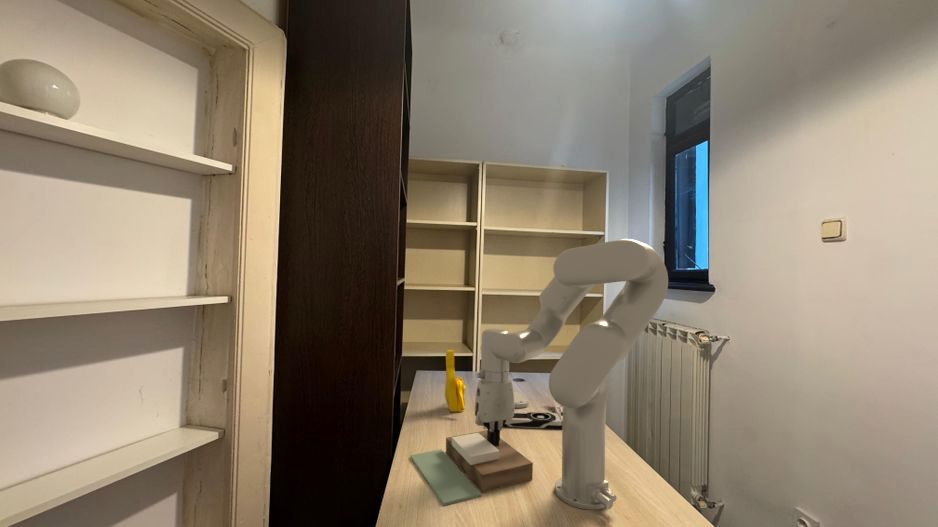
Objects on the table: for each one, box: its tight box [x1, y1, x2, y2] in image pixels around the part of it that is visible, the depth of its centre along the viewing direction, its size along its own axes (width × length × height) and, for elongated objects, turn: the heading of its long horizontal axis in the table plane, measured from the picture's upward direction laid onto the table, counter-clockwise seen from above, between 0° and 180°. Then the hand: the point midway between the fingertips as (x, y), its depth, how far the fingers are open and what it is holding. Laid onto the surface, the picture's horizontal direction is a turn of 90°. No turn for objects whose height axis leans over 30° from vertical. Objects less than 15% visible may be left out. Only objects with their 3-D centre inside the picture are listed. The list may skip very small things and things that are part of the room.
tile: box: [451, 432, 499, 465], centre depth 100 cm, size 12×8×2 cm, turn 25°
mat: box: [410, 448, 481, 507], centre depth 95 cm, size 24×9×1 cm, turn 26°
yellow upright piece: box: [444, 349, 467, 413], centre depth 142 cm, size 18×8×22 cm, turn 9°
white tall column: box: [552, 397, 563, 424], centre depth 137 cm, size 6×6×25 cm
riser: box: [445, 429, 534, 493], centre depth 101 cm, size 22×14×4 cm, turn 26°
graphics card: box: [502, 411, 562, 431], centre depth 130 cm, size 10×3×25 cm
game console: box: [513, 389, 529, 409], centre depth 153 cm, size 18×2×8 cm
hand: (493, 444), depth 102 cm, fingers closed
